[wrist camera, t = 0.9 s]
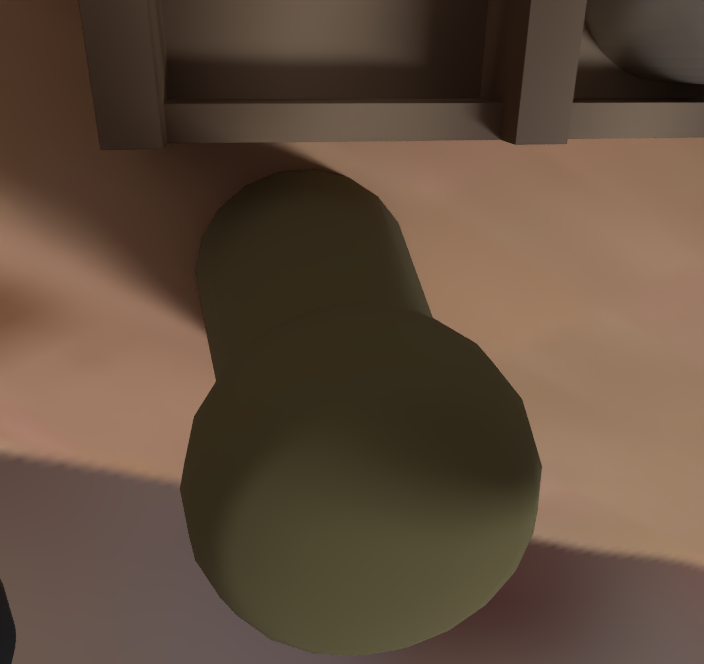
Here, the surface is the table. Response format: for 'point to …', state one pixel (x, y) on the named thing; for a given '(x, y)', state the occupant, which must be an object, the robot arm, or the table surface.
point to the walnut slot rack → (365, 74)
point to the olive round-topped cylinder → (346, 431)
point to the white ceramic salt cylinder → (651, 37)
